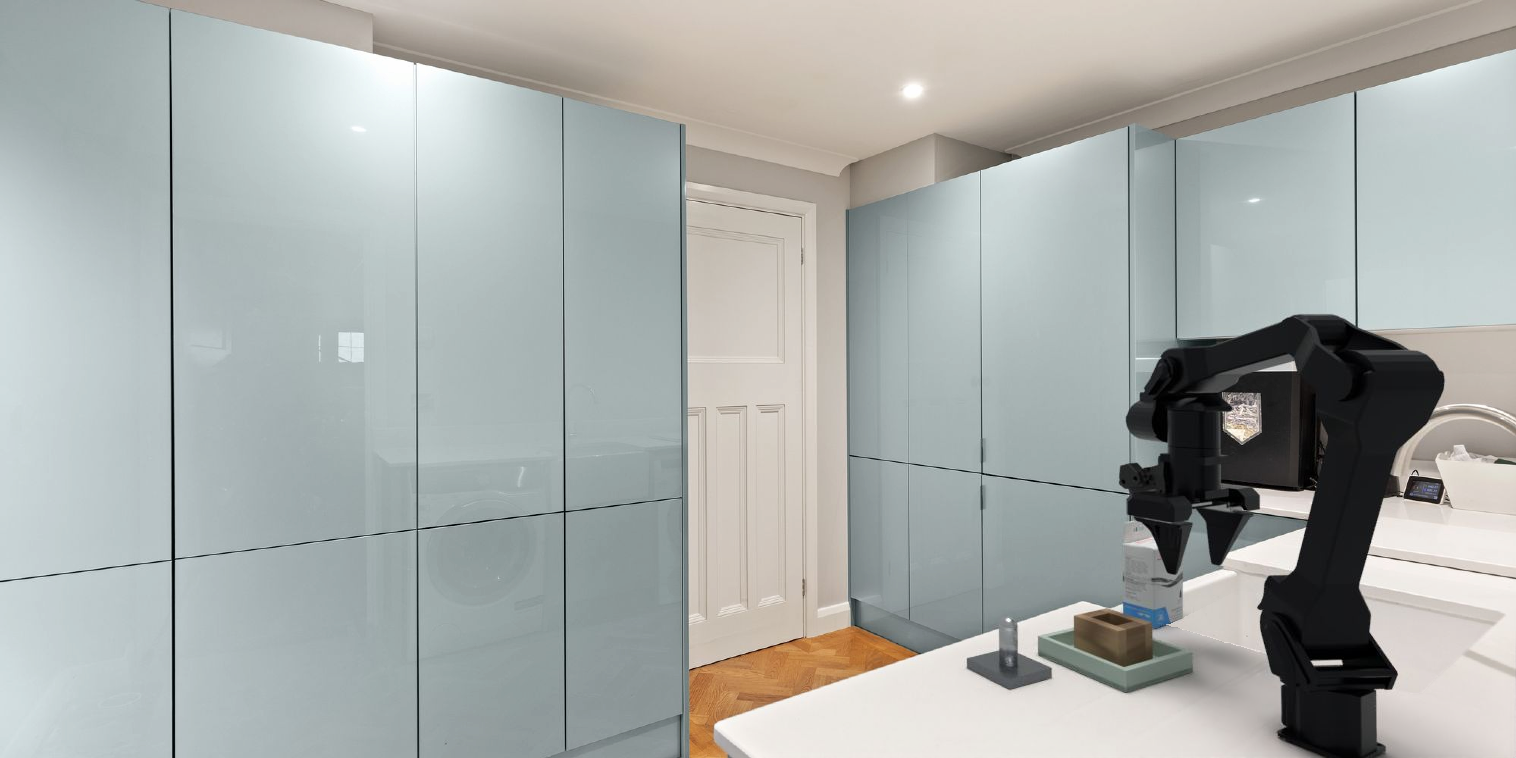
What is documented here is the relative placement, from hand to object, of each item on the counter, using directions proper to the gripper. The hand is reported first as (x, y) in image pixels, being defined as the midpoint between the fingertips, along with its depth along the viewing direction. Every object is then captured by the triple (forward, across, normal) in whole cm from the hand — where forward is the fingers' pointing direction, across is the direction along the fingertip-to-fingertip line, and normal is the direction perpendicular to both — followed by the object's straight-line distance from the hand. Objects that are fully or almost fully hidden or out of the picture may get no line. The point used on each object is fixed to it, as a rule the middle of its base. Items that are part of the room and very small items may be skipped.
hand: (1194, 569), depth 88 cm
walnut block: (+11, +9, -5) cm, 15 cm away
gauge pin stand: (+12, +23, -9) cm, 27 cm away
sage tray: (+12, +9, -5) cm, 16 cm away
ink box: (+12, -11, -13) cm, 21 cm away
